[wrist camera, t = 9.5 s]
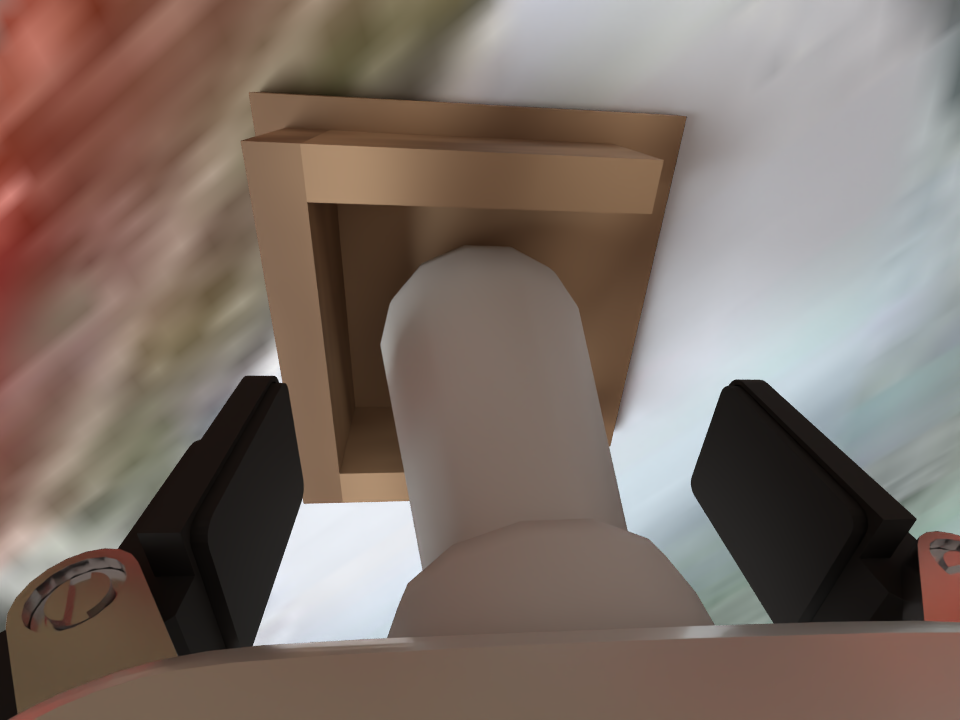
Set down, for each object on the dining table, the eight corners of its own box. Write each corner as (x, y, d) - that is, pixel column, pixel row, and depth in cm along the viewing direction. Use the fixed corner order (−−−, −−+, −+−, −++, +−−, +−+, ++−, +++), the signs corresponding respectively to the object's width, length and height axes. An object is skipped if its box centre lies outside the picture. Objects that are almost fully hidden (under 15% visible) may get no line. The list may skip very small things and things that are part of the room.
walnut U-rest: (674, 115, 15) (758, 125, 11) (604, 433, 20) (642, 511, 17) (258, 92, 13) (191, 95, 10) (310, 437, 19) (281, 522, 16)
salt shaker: (528, 397, 18) (684, 905, 7) (374, 367, 17) (264, 922, 6) (587, 249, 16) (994, 688, 4) (410, 201, 14) (334, 634, 3)
